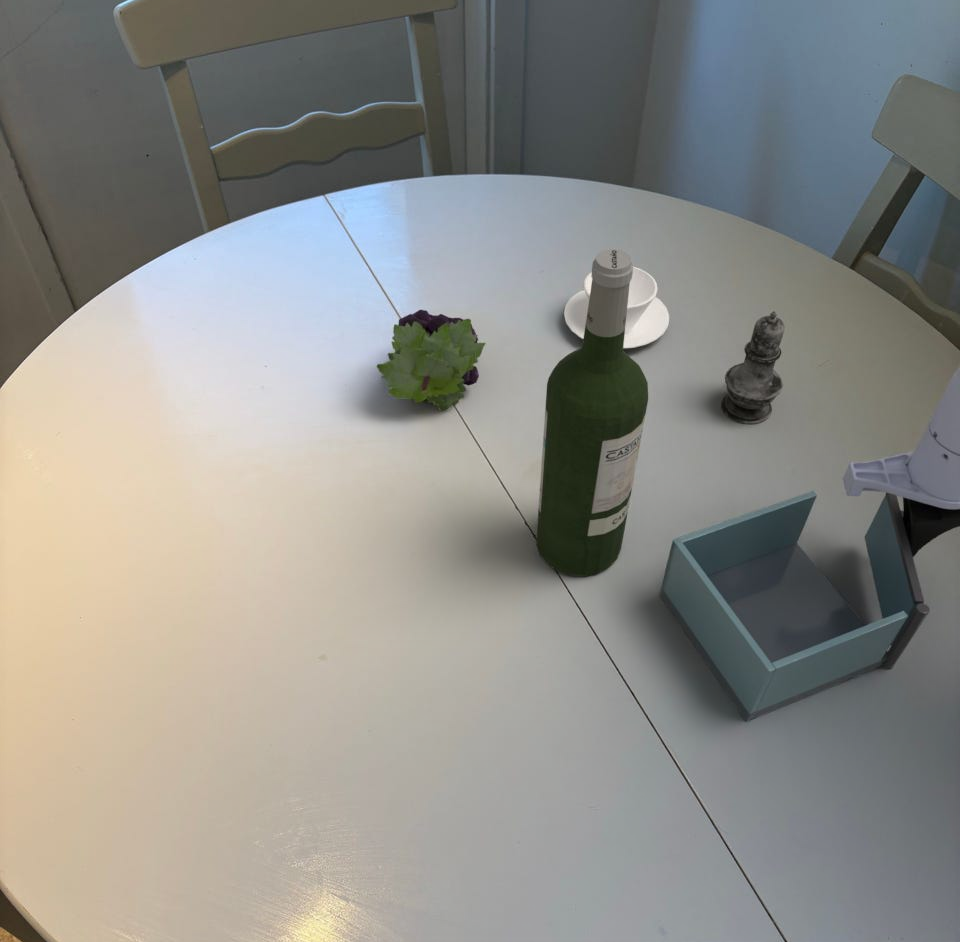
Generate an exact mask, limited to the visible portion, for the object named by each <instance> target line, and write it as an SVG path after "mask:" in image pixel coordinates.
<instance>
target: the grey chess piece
mask: <svg viewBox="0 0 960 942" xmlns="http://www.w3.org/2000/svg"><path fill="white" fill-rule="evenodd" d="M785 326H786V325H785V324H784V322H783V320H782V319H781V318H779V317H778V315H777V313H776V311H771V312H770V313H769V315H764V316H762V317H760V318H758V319H757V321H755V324H754V327H753V330H752V334H751V337H750V341H748V342H747V343H746V344H745V346H744V349H743V351H744V353H745V357H744V360H743V362H741V363H738V364H735V365H733V366H731V367H730V368H729V369H728V370H727V371H726V373H725V376H724V381H725V385H726V391H727V393H726V394H725V395H724V396H723V397H722V399H721V402H720V407H721V410H722V412H723V413H724V414H725V415H726V417H728V418H729V419H730V420H732V421H734V422H737V423H740V424H743V425H758V424H761V423H763V422H766V421H767V420H768V419H769V418H770V416H771V415H772V412H773V407H772V404H771V403H772V402H773V401H774V400H775V399H776V398H777V396H779V395H780V394H781V392H782V390H783V389H784V388H783V387H784V380H783V379H782V377H781V374H780V373H778V372H777V371H776V370H775V365H776V362H777V361H778V360H779V359H780V358H781V356H782V350H781V347H780V346H781V342H782V339H783V336H784V333H785V329H786V327H785Z"/></svg>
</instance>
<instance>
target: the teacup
mask: <svg viewBox="0 0 960 942" xmlns="http://www.w3.org/2000/svg"><path fill="white" fill-rule="evenodd" d="M591 285H592V271H590V272H589V273H588V274H587V275H586V277H585V278H584V280H583V289H582V290H580V291H578V292H576V293H575V294H573V296H571V297H570V298H569V300H568V301H567V303H566V304H565V306H564V311H563V312H564V313H563V316H564V321H565V323H566V325H567V326H568V328H569V330H570V331H571V332H572V333H574V334H575V335H576V336H577V337H579V339H582V340H583V339H584V332H585V325H586V318H587V312H588V305H589V298H590V291H591ZM657 293H658V284H657V282H656V280H655V278H654V277H653V276H652V275H651V274H650V273H648V272H647V271H645V270H644V269H642V268H638V267H636V266H633V274H632V279H631V281H630V285H629V295H628V305H627V315H626V325H625V335H624V345H623V350H624V349H636V348H639V347H644V346H647V345H648V344H651V343H653V342H655V341H657V340H658V339H659V338H660V337H662V336H663V335H664V334H665V333H666V330H667V329H668V327H669V325H670V314H669V310H668V308H667V306H666V305H665V304H664V303H663V302H662V300H661V299H659V297H657Z"/></svg>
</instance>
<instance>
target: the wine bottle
mask: <svg viewBox="0 0 960 942" xmlns="http://www.w3.org/2000/svg"><path fill="white" fill-rule="evenodd" d="M633 267H634V263H633V261H632V257H631V255H630V254H629V253H628V252H626V251H624V250H622V249H617V248H607V249H604V250H601V251H600V252H598V253H597V254H596V256H595V258H594V260H593V261H592V266H591V272H592V285H591V291H590V298H589V305H588V312H587V318H586V325H585V332H584V339H582V340H583V341H582V346H581V348H578V349H576V350H574V351H572V352H570V353H568V354H567V355H565V356H564V357H563V358H562V359H560V360H559V362H558V363H557V364H556V365H555V366H554V368H553V369H552V371H551V373H550V375H549V377H548V378H547V383H546V392H545V394H546V395H545V408H544V409H545V410H544V422H543V435H542V438H543V439H542V452H541V466H540V480H539V482H540V483H539V494H538V496H539V497H538V510H537V511H538V512H537V525H536V526H537V527H536V542H535V543H536V544H535V546H536V548H537V551H538V553H539V556H540V557H541V559H542V560H543V561H544V562H545V564H547V565H548V566H549V567H551V568H552V569H554V570H555V571H557V572H558V573H561V574H565V575H568V576H571V577H589V576H593V575H598V574H600V573H602V572H603V571H606V570H607V569H609V568H610V567H611V566H612V565H613V564H614V563H615V562H616V561H617V560H618V558H619V555H620V553H621V550H622V546H623V541H624V534H625V529H626V523H627V518H628V513H629V507H630V501H631V496H632V492H633V486H634V479H635V475H636V470H637V469H636V468H637V462H638V458H639V452H640V448H641V447H640V446H641V442H642V436H643V430H644V424H645V419H646V414H647V409H648V405H649V403H648V402H649V385H648V384H649V382H648V380H647V378H646V376H645V373H644V371H643V369H642V368H641V366H640V365H639V363H637V361H635V360H634V359H633V358H631V356H629V355H628V354H627V353H626V352H625V351H624V349H623V345H624V335H625V325H626V315H627V305H628V295H629V285H630V281H631V279H632V274H633Z"/></svg>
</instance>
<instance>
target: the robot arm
mask: <svg viewBox="0 0 960 942" xmlns="http://www.w3.org/2000/svg"><path fill="white" fill-rule="evenodd" d="M842 481H843V487H844V490H845V493H846V494H845V495H846V496H847V497H860V496H861V495H862V492H881V493H885V494H886V493H890V494H893V495H897V497H901V498H902V503H903V504H902V505H903V508H902V509H903V510H902V511H903V522H904V526H905V530H906V533H907V537H908V541H909V545H910V549H911V552H912V556H913V558H914V557H915V556H916V555H917V554H918V552H919V551H920V550H921V549H922V548H924V547H925V546H927V544H929V543H931V542H932V541H933V540H934V539H936V538H938V537H939V536H941V535H943V534H945V533H947V532H949V531H950V530H951V531H952V530H953V529H956V528H960V364H959V365H958V367H957V368H956V369H955V371H954V372H953V374H952V376H951V378H950V379H949V382H948V383H947V386H946V388H945V390H944V391H943V394H942V396H941V398H940V399H939V401H938V403H937V405H936V407H935V410H934V411H933V413H932V415H931V417H930V420H929V422H928V424H927V425H926V427H925V430H924V431H923V433H922V435H921V438H920V439H919V441H918V443H917V445H916V447H915V450H913V451H908V452H903V453H899V454H896V455H892V456H887V457H881V458H878V459H872V460H868V461H849V463H848V465H847V468H846V470H845V472H844V474H843V477H842Z"/></svg>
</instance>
